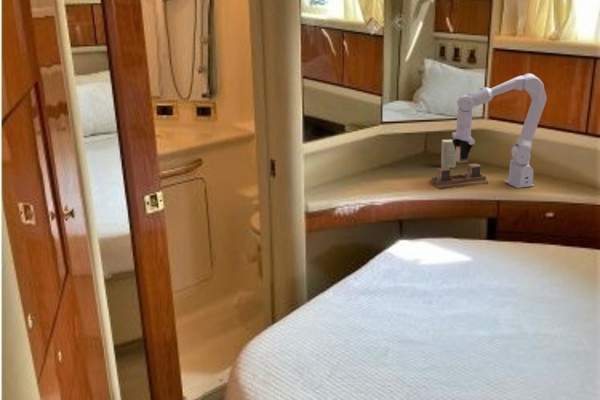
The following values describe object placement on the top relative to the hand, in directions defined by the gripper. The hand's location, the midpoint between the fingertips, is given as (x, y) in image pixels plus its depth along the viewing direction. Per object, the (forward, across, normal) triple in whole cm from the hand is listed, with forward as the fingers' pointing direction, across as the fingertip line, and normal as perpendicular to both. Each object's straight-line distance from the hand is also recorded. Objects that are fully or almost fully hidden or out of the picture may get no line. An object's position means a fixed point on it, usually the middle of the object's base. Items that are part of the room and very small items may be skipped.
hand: (461, 157), depth 241 cm
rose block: (+2, 0, 0) cm, 2 cm away
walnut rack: (+10, +1, -1) cm, 11 cm away
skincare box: (+11, -22, +6) cm, 25 cm away
